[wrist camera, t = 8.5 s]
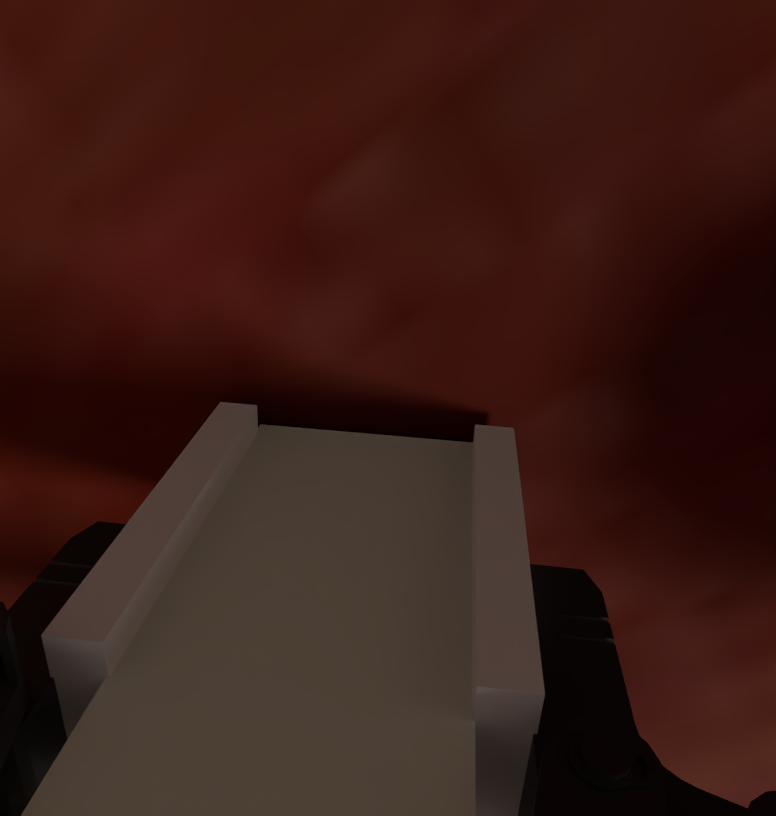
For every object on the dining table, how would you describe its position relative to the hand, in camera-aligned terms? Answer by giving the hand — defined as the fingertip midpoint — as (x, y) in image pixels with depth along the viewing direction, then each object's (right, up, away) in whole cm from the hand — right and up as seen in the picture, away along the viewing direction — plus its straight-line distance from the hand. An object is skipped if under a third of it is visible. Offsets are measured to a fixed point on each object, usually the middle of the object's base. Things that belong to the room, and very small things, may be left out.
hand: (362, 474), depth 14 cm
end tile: (0, 0, 0) cm, 0 cm away
